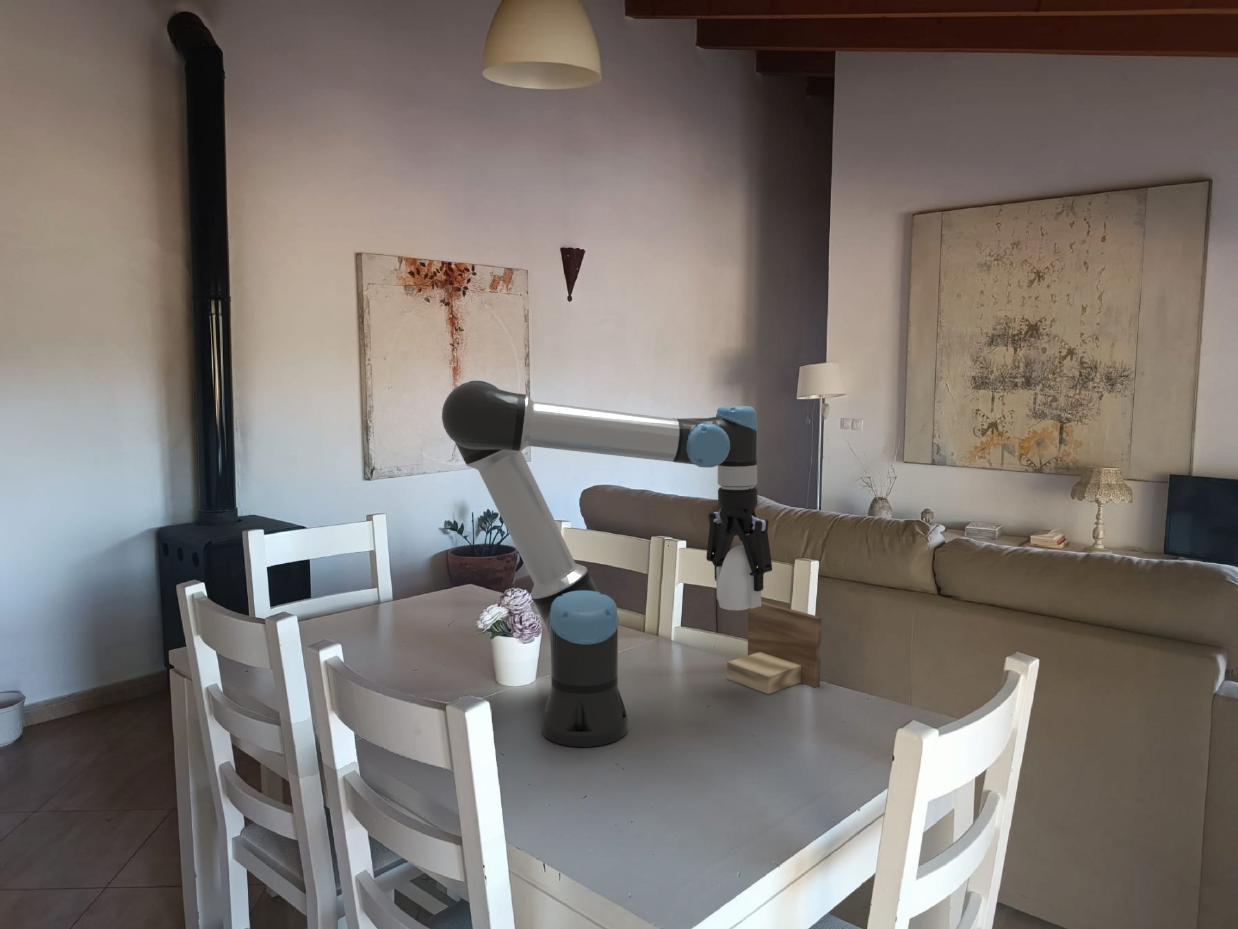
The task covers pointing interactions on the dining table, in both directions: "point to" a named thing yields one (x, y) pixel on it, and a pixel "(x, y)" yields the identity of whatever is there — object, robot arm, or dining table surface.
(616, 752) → the dining table surface
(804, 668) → the wall board
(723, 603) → the figurine
